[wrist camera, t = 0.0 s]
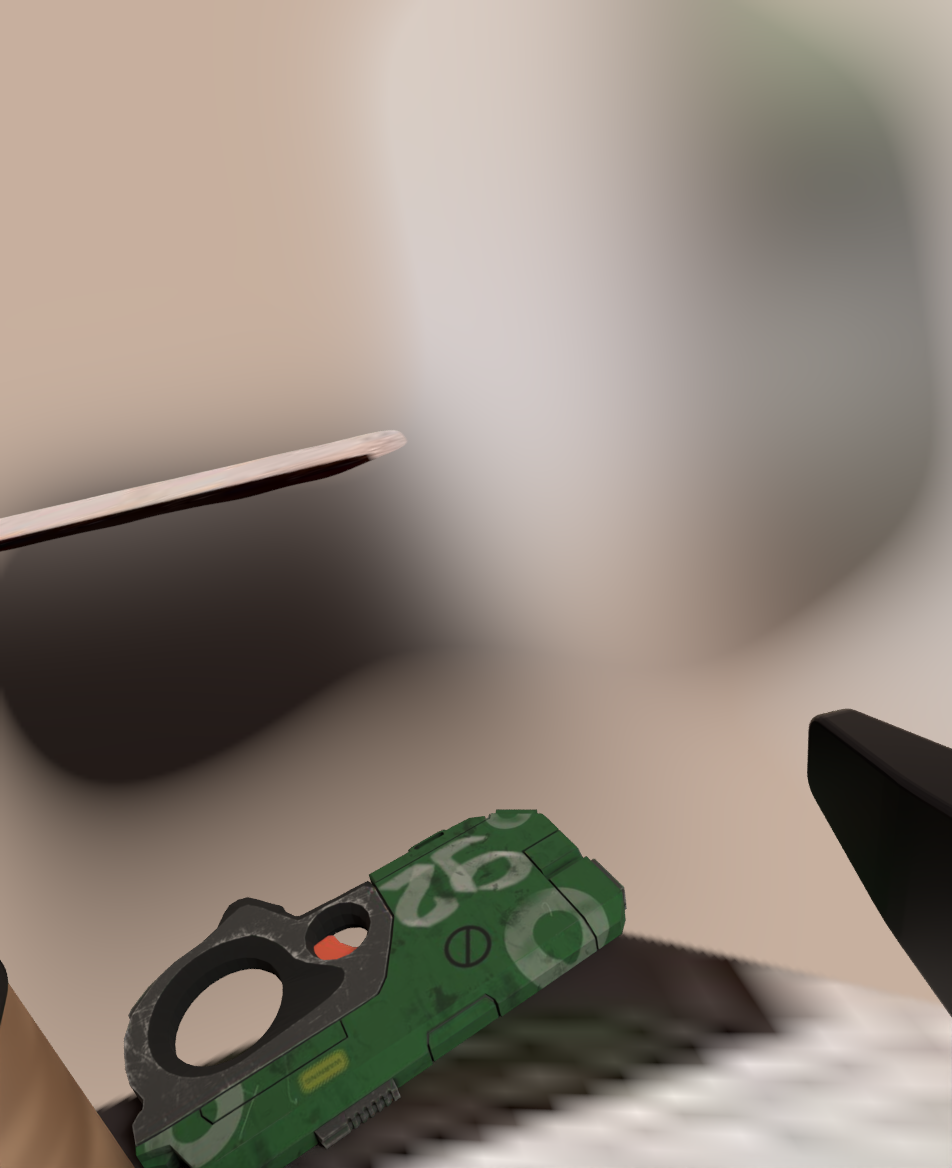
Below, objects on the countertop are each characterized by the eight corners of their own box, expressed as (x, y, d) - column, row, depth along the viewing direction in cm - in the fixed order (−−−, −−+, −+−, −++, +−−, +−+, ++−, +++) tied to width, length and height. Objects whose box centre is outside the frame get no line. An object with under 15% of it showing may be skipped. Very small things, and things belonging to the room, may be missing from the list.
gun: (490, 756, 33) (645, 904, 25) (496, 781, 34) (648, 933, 26) (108, 959, 27) (149, 1245, 19) (123, 985, 28) (169, 1273, 19)
